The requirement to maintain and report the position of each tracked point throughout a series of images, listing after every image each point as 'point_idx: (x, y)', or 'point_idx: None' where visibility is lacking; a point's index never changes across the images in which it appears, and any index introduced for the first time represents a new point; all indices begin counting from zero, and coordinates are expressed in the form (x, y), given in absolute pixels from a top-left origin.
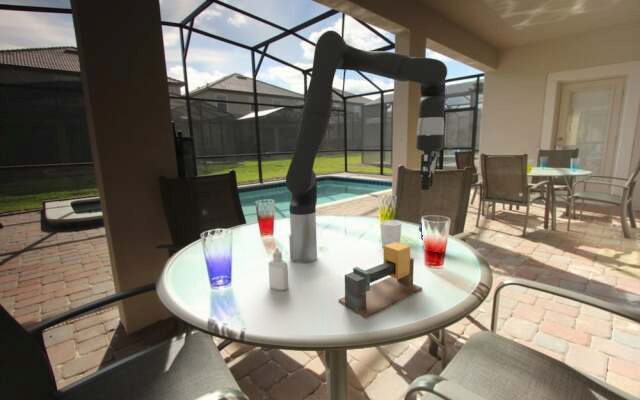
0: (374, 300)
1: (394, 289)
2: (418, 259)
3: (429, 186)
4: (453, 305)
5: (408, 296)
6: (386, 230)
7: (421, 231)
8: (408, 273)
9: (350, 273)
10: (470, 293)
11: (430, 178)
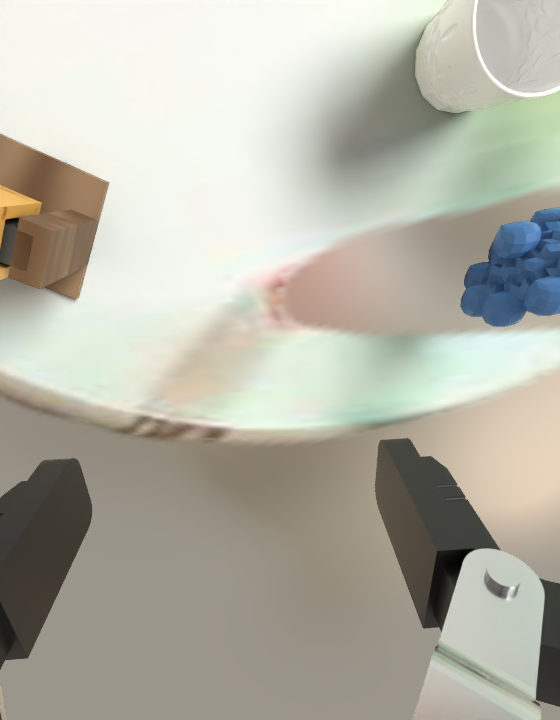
0: None
1: None
2: (335, 234)
3: (78, 544)
4: (42, 384)
5: None
6: (458, 5)
7: (526, 224)
8: None
9: None
10: (138, 413)
11: (406, 551)
